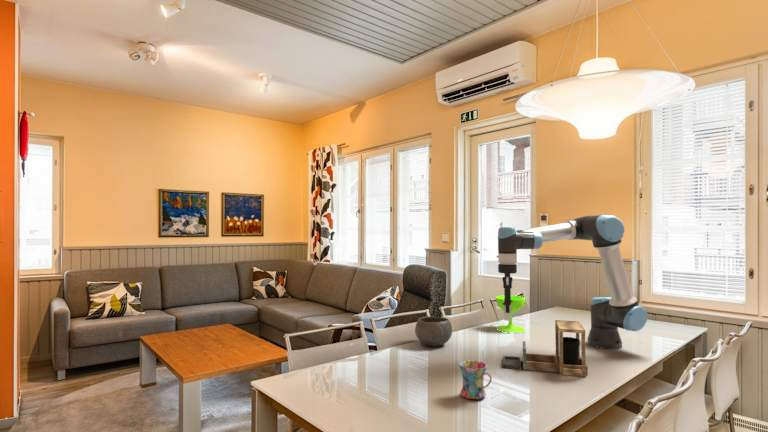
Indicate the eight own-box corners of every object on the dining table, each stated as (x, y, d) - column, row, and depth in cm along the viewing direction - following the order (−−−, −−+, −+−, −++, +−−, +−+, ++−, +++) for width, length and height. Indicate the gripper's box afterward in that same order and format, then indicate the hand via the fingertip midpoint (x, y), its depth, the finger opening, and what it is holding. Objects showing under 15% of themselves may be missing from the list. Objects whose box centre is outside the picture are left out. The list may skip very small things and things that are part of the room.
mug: (453, 395, 146) (453, 364, 146) (470, 388, 152) (470, 358, 152) (482, 406, 136) (482, 373, 137) (499, 399, 142) (499, 367, 143)
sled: (582, 365, 177) (582, 345, 177) (587, 374, 165) (587, 353, 166) (522, 360, 184) (522, 341, 184) (523, 368, 172) (523, 348, 172)
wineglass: (494, 326, 248) (494, 295, 248) (522, 327, 245) (522, 295, 246) (497, 333, 232) (497, 299, 232) (528, 334, 230) (527, 300, 230)
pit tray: (520, 360, 184) (520, 357, 184) (520, 369, 172) (520, 365, 172) (503, 359, 186) (503, 355, 186) (502, 367, 174) (502, 364, 174)
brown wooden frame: (579, 364, 179) (578, 321, 180) (585, 377, 164) (585, 330, 164) (555, 362, 182) (555, 320, 182) (559, 374, 166) (559, 328, 167)
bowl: (410, 347, 204) (410, 320, 204) (421, 338, 220) (421, 313, 221) (447, 351, 197) (447, 324, 197) (455, 342, 214) (455, 316, 214)
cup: (579, 367, 175) (579, 337, 175) (581, 373, 168) (581, 342, 168) (559, 365, 178) (558, 336, 178) (560, 371, 170) (559, 340, 171)
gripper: (498, 261, 190) (499, 314, 190) (497, 265, 173) (497, 323, 172) (516, 262, 188) (516, 315, 188) (516, 265, 171) (517, 324, 170)
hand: (507, 318), depth 180 cm, fingers open, 5 cm apart
